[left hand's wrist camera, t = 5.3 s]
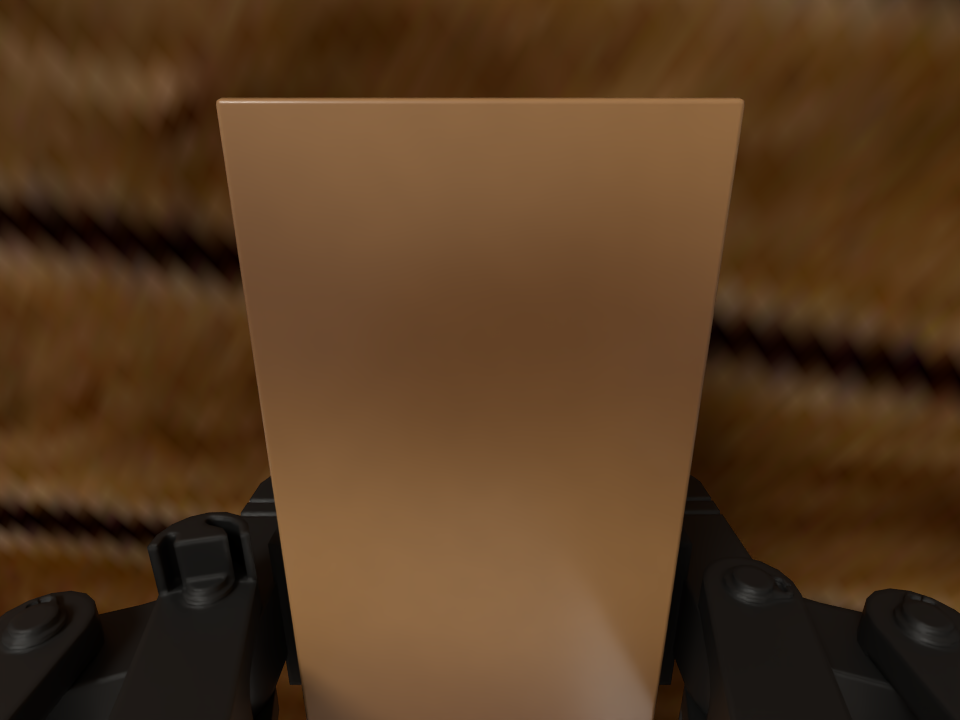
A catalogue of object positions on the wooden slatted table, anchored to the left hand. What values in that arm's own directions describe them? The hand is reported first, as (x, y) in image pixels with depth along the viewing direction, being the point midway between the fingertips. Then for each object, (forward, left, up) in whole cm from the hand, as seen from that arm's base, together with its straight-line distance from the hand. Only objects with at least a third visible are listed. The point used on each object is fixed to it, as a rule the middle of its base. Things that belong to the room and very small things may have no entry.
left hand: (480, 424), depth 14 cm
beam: (-3, +24, -1) cm, 24 cm away
